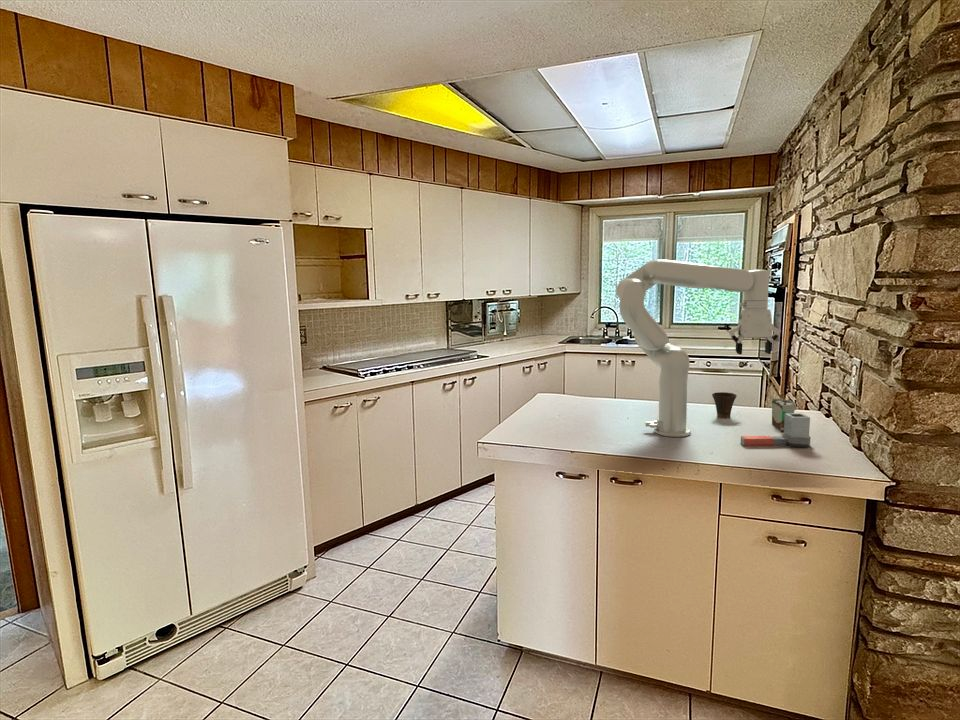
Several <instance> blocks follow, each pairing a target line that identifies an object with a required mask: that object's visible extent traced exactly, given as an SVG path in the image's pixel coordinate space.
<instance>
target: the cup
mask: <svg viewBox="0 0 960 720" xmlns="http://www.w3.org/2000/svg"><path fill="white" fill-rule="evenodd" d="M711 396H712V398H713V400H714V404H715V409H716V416H717V418H718V419H731V413H732V409H733V404H734V402H735V400H736V398H737V394H736V393H733V392H725V391H722V392H721V391H720V392H714V393H712V394H711Z"/></svg>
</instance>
